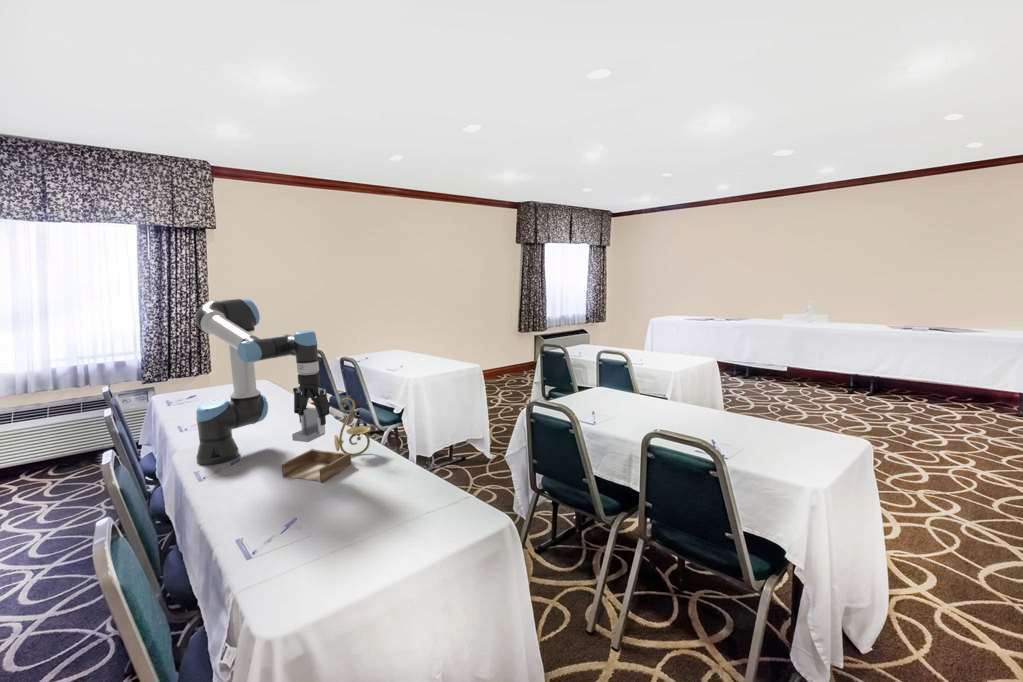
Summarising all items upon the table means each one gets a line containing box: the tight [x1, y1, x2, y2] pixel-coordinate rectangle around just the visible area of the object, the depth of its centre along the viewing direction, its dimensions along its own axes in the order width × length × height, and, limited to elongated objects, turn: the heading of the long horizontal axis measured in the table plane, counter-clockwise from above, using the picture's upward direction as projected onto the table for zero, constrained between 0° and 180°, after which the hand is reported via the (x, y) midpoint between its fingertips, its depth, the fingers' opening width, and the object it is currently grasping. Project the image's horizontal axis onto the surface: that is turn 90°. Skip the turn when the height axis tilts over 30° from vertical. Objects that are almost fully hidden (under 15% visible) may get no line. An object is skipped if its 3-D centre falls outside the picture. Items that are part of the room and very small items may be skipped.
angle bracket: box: [291, 406, 326, 443], centre depth 185 cm, size 9×7×10 cm
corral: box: [281, 448, 352, 484], centre depth 191 cm, size 18×16×5 cm
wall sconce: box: [333, 397, 371, 457], centre depth 204 cm, size 14×10×25 cm
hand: (313, 432), depth 188 cm, fingers closed on angle bracket, 7 cm apart
